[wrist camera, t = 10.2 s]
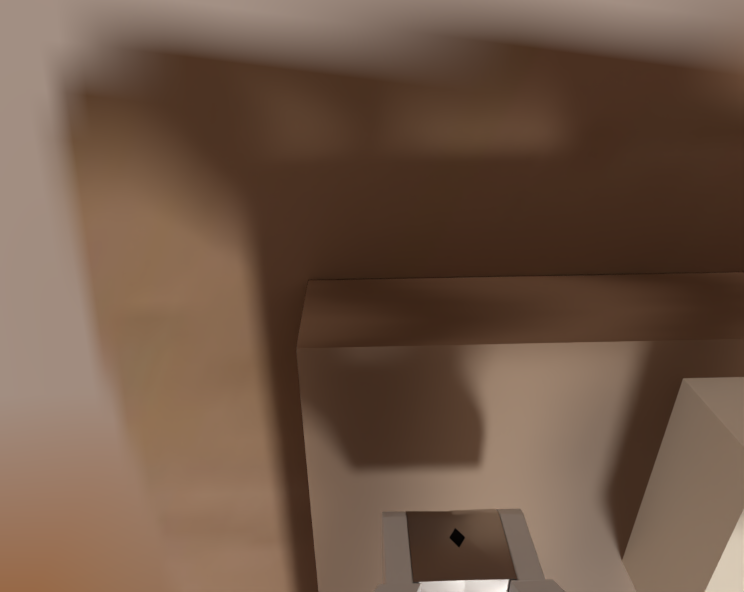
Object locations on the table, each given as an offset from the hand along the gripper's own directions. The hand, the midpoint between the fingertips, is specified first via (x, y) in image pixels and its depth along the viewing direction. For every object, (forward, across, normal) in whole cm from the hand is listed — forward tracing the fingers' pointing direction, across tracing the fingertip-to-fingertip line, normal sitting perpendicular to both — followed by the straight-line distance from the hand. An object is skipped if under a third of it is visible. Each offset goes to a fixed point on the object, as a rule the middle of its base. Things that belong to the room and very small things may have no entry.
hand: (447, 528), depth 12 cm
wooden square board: (+4, -5, +4) cm, 8 cm away
